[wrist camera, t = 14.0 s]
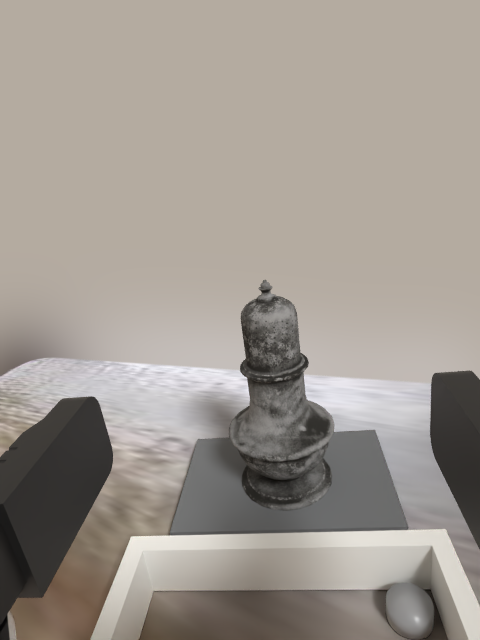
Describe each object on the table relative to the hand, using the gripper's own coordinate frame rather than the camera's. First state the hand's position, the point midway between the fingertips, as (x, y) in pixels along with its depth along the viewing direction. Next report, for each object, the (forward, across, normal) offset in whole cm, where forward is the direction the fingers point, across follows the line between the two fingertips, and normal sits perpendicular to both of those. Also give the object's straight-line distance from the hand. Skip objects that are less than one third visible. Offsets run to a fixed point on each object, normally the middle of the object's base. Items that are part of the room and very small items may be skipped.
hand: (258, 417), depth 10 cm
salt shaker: (+12, 0, +12) cm, 17 cm away
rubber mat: (+12, 0, +12) cm, 17 cm away
